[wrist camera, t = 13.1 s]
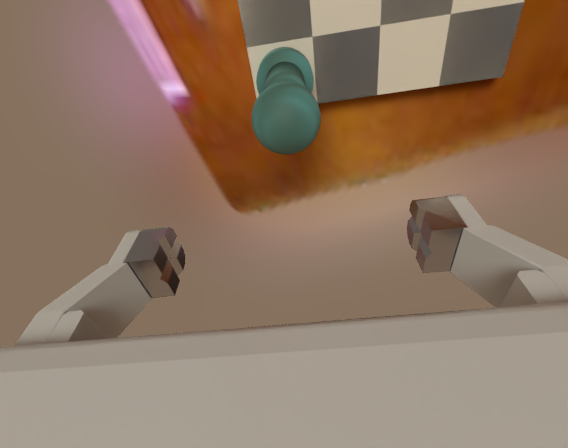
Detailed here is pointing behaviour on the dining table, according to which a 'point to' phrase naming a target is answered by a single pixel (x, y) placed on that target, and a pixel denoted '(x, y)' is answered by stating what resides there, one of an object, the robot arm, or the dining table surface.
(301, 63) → the pawn
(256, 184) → the dining table surface
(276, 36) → the board
